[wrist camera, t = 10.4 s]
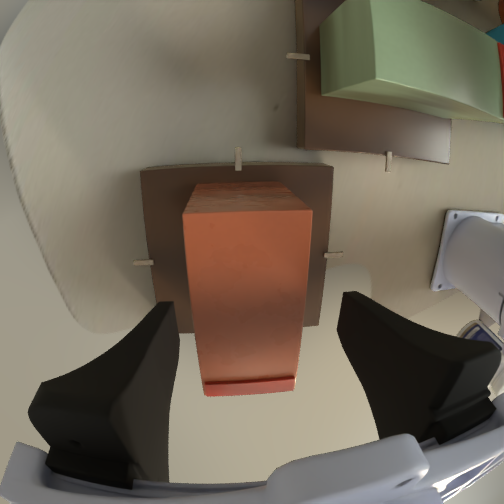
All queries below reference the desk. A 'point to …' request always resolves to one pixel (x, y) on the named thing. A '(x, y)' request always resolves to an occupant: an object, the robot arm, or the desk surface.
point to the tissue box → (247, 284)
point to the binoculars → (501, 10)
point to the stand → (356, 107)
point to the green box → (412, 60)
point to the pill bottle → (479, 331)
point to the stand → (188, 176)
